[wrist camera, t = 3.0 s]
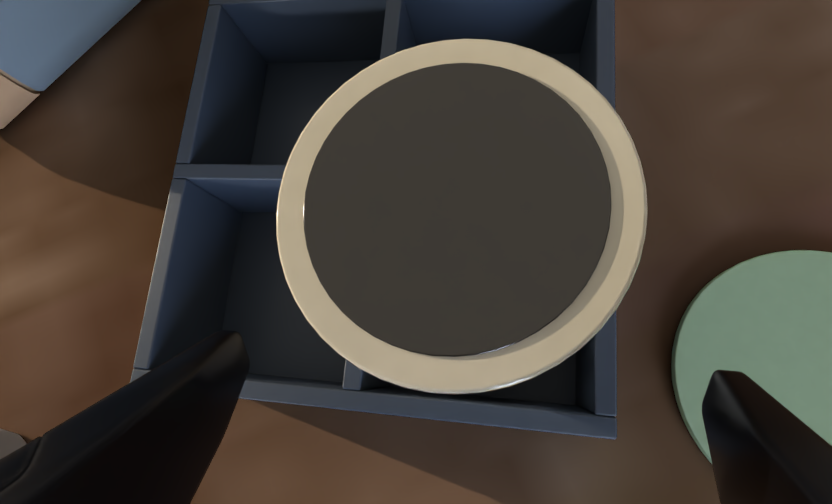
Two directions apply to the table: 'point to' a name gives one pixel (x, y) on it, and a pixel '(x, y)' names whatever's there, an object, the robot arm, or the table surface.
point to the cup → (9, 442)
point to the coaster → (761, 337)
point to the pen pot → (461, 216)
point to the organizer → (261, 179)
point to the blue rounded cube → (47, 43)
